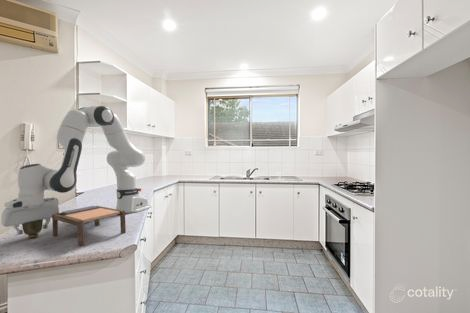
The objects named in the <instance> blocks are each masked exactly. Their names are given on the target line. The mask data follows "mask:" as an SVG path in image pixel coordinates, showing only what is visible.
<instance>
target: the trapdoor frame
mask: <svg viewBox="0 0 470 313" xmlns="http://www.w3.org/2000/svg"><path fill="white" fill-rule="evenodd" d="M96 206H97V207H99V208H103V209H109V210H114V211H119V212H120V214H117V216H119V217H120V218H119V219H120V234H125V233H127V231H126V213H125V211H123V210H117V209H116V208H111V207H106V206H100V205H96ZM51 220H52V222H51V223H52V237H53V238H56V237H59V222H61V223H65V224H70V225H72V226H75V227H76V228H77V229H76V230H77V231H76V232H77V236H76V237H77V247H83V246H84V245H85V244H84V243H85V242H84V241H85V239H84V224H83V221H82V220H78V219H74V218H70V217H67V216H63V215H62V212H59V213H57V214H52V218H51ZM94 226H95V227H99V226H100V219H96V220H94Z"/></svg>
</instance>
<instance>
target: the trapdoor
mask: <svg viewBox="0 0 470 313" xmlns="http://www.w3.org/2000/svg"><path fill="white" fill-rule="evenodd" d="M97 206H98V205H91V206H86V207H85V206H84V207H81V208H75V209H69V210H65V211H61V213H62V215H63V216H67V217H70V218H74V219H78V220H82V221H83V222H87V221H90V222H91V221H95V220H96V219H99V220H100V219H104V218H108V217H112V216H116V215H117V214H120V212H119V211H114V210H109V209H103V208H99V207H97ZM117 216H118V215H117Z"/></svg>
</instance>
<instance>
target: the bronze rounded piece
mask: <svg viewBox="0 0 470 313" xmlns="http://www.w3.org/2000/svg"><path fill="white" fill-rule="evenodd" d="M43 221H44V219H41V220H38V221H33V222H28V223H26V222H25V223H23V224H21V225H22V226H21V227H22V230H23V234H25V235H26V236H27V238H28V239H34V238H37V237H39V233H41V231H42V230H43V228H42V227H43V226H42V225H43V223H44V222H43Z"/></svg>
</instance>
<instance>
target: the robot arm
mask: <svg viewBox="0 0 470 313" xmlns="http://www.w3.org/2000/svg"><path fill="white" fill-rule="evenodd" d="M88 127H92V128H93V127H101V129H102V131H103V134H104V136H105V138H106V141H107V143H108V145H109V146H110V147H111V148H112V149H114V150H113V151H110V152H108V154H107V155H106V162H107V164H108V165H109V166H110V167H112V169H113V172H114V174H115V178H116V187H117V188H116V206H115V209H117V210H123V211H125V214H128V213H133V214H134V213H138V212H141V211H145V210H148V209H152V208H153V207H152V205H150V204H149V202H148V199H147V198H146V197H145V196H143V195H142V194H141V193H139V192H142V190H143V189H142V188H140V187H139V188H137V179H136V175H135V174H134V173H132V171H131V169H130V168H136V167H140V166H142V165H143V164H144V163H145V160H146V156H145V154H144V151H142V150H140V149H138V148H137V147H136V146H135V145H134V144H133V143H132V142H131V141H130V140H129V137H128V135H127V133H126V131H125V129H124V126H123V124H122V122H121V120H120V118H119V117H118V115H117V114H116V113H114V112H113V110H112V109H111V108H110V107H108V106H105V105H91V106H84V107H81V108H78V109H71V110H69V111H67V113H66V115H65V116H64V118H63V120H61V123H60V125H59V128H58V131H57V135H56V140H57V142H58V143H59V145H61V146H62V148H64V153H63V158H62V162H61V165H60V167H59V169H58V170H57V169H52V168H48V167H46V166H44V165H42V164H41V163H33V164H24V165H23V166H21V167H20V168H19V170H18V174H17V175H18V176H17V185H18V186H17V187H18V189H19V191H18V197H16V198H14V199H11V200H8V201H6V202H5V203H4V204H3V205H4V207H5V208H4V209H3V211H2V213H1V223H0V224H1V225H2V226H3V227H5V228H8V227H12V228H13V229H14V230H15V231H16V236H17V235H18V236H19V235H23V234H24V231H23V229H19V227H20V225H22V224H23V223H25V222H26V223H28V222H33V221H38V220H41V219H43V220H44V221H45V222H44V224H42V230H47V229H48V228H49V226H48V225H49V223H50V222H51V219H52V214H57V213H60V208H59V199H58V198H56V197H47V198H45V191H46V190H47V191H52V192H57V193H60V194H64V193H68V192H70V191H72V190H73V189H74V188H75V186H76V184H77V169H78V166H79V162H80V158H81V154H82V149H83V141H84V137H85V135H86V132H87V128H88Z"/></svg>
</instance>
